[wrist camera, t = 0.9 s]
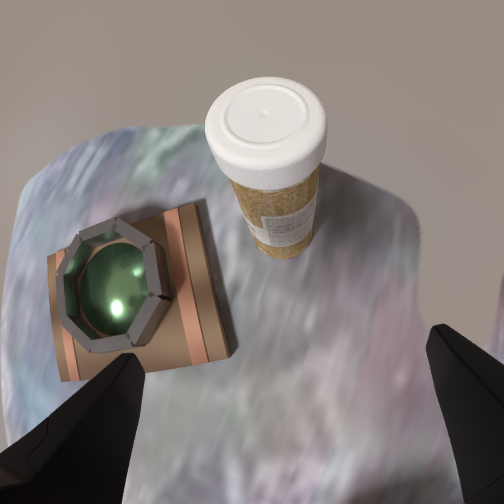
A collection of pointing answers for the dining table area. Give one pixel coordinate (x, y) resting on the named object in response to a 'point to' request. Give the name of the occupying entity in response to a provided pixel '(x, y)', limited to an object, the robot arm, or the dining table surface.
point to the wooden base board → (177, 316)
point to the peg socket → (113, 288)
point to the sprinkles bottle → (271, 158)
